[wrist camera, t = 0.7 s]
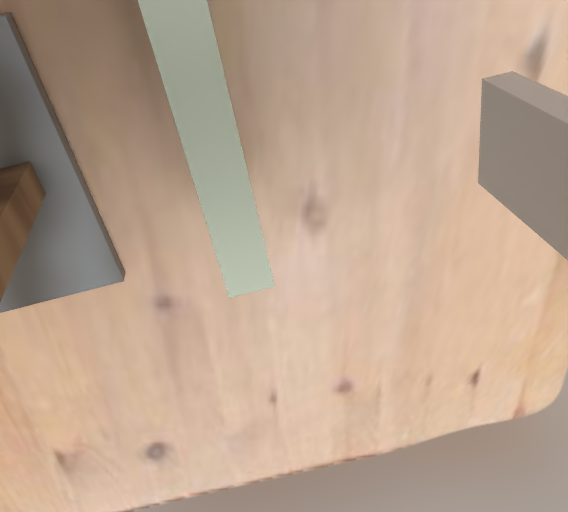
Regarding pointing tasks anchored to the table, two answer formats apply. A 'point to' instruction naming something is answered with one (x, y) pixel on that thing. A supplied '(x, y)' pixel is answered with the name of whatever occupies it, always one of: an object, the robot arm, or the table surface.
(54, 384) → the table surface
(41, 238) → the wood panel stand
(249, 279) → the sage plate
